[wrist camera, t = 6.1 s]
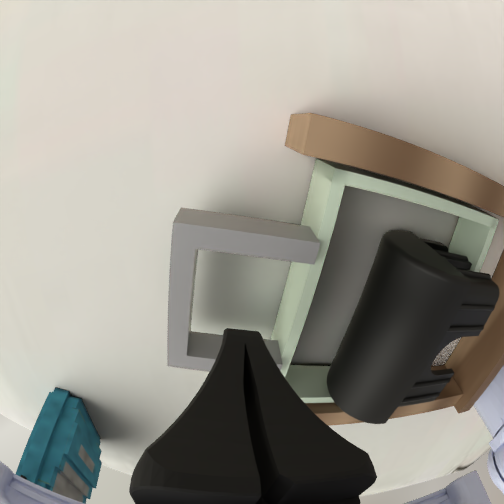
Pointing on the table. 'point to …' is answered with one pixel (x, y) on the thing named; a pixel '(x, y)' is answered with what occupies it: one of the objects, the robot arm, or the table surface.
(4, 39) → the table surface
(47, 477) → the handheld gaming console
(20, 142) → the table surface
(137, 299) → the table surface
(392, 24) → the table surface
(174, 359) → the pull tray
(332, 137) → the brown wooden frame
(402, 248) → the end cap
